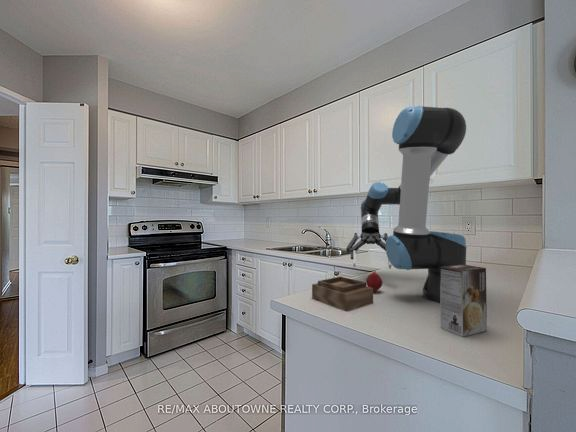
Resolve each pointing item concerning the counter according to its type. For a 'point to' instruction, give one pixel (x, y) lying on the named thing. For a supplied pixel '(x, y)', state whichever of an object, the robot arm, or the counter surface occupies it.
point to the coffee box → (463, 299)
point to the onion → (374, 281)
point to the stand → (343, 293)
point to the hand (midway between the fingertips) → (372, 266)
